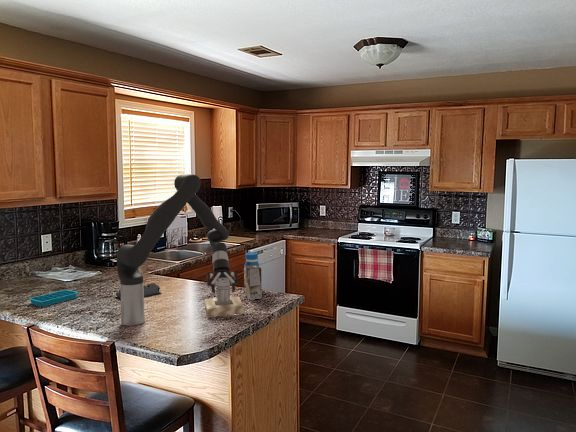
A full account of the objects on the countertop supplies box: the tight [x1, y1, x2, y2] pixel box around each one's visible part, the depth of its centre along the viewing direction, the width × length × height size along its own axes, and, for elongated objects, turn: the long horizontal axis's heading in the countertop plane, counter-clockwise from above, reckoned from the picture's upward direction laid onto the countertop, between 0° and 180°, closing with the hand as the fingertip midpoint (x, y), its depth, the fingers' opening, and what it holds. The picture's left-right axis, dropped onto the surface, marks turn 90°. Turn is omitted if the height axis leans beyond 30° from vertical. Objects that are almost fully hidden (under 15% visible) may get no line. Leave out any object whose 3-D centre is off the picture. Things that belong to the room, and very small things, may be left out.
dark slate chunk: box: [115, 282, 163, 300], centre depth 235 cm, size 15×22×5 cm
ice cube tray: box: [28, 289, 80, 307], centre depth 225 cm, size 12×20×3 cm, turn 150°
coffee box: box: [244, 265, 263, 301], centre depth 228 cm, size 9×6×16 cm
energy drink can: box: [216, 278, 231, 305], centre depth 206 cm, size 6×6×15 cm
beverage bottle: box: [243, 251, 260, 291], centre depth 243 cm, size 8×8×20 cm
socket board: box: [204, 296, 245, 318], centre depth 207 cm, size 16×16×4 cm
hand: (223, 292), depth 205 cm, fingers open, 8 cm apart
